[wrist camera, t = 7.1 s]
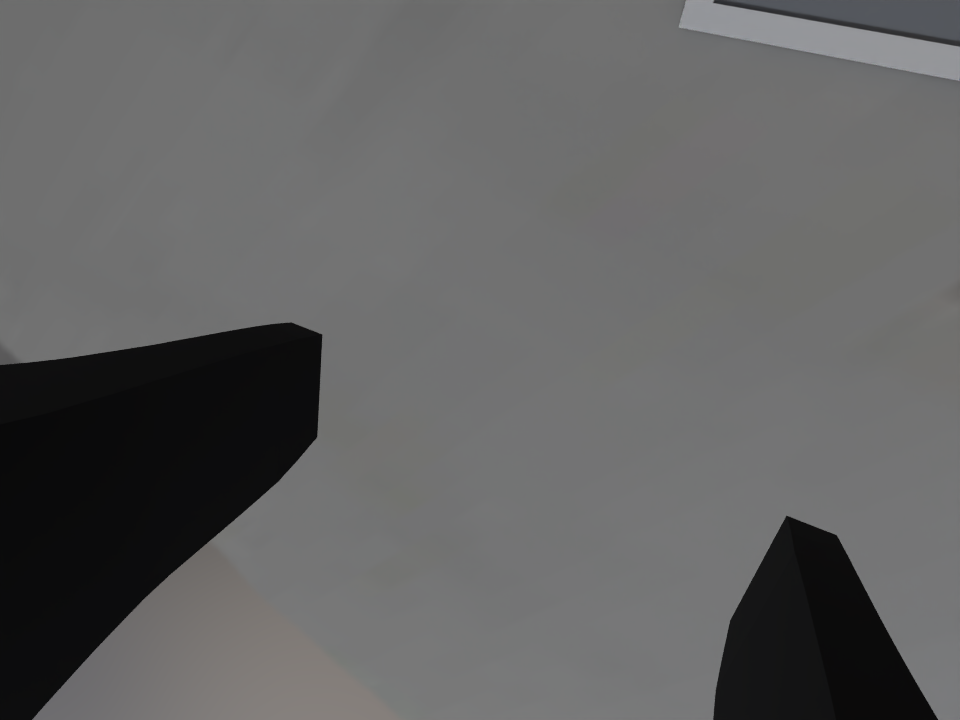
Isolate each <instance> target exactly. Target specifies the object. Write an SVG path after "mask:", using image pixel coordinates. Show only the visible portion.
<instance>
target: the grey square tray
mask: <svg viewBox="0 0 960 720" xmlns="http://www.w3.org/2000/svg"><path fill="white" fill-rule="evenodd" d="M679 28H685V29H690V30H695V31H700V32H706V33H711V34H716V35H721V36H727V37H732V38H737V39H742V40H748V41H753V42H758V43H763V44H769V45H774V46H779V47H784V48H789V49H795V50H800V51H805V52H810V53H816V54H821V55H826V56H831V57H837V58H842V59H847V60H852V61H858V62H863V63H868V64H873V65H879V66H884V67H889V68H894V69H900V70H905V71H910V72H915V73H921V74H926V75H931V76H936V77H942V78H947V79H952V80H957V81H960V0H686V3H685V6H684V10H683V13H682V17H681V21H680V24H679Z"/></svg>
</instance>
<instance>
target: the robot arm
mask: <svg viewBox="0 0 960 720" xmlns="http://www.w3.org/2000/svg"><path fill="white" fill-rule="evenodd" d="M321 350H322V334H319V333H317V332H314V331H312V330H309V329H306V328H304V327H301V326H299V325H296V324H294V323H280V324H270V325H263V326H256V327H250V328H244V329H238V330H232V331H227V332H221V333H216V334H210V335H205V336H199V337H194V338H188V339H183V340H178V341H172V342H167V343H161V344H156V345H150V346H144V347H137V348H131V349H124V350H118V351H111V352H105V353H98V354H92V355H86V356H79V357H73V358H65V359H57V360H48V361H39V362H30V363H19V364H9V365H8V364H7V365H0V720H32V719H33V718H34V717H35V716H36V715H37V713H38V712H39V711H40V710H41V709H42V708H43V706H44V705H45V704H46V703H47V702H48V701H49V700H50V699H51V698H52V697H53V695H54V694H55V693H56V692H57V691H58V690H59V689H60V688H61V687H62V685H63V684H64V683H65V682H66V681H67V680H68V679H69V678H70V677H71V676H72V674H73V673H74V672H75V671H76V670H77V669H78V668H79V667H80V666H81V664H82V663H83V662H84V661H85V660H86V659H87V658H88V657H89V656H90V655H91V654H92V652H93V651H94V650H95V649H96V648H97V647H98V646H99V645H100V644H101V643H102V642H103V641H104V640H105V639H106V638H107V637H108V635H110V633H111V632H112V631H113V630H114V629H115V628H116V627H117V626H118V625H119V624H120V623H121V622H122V621H123V620H124V619H125V618H126V617H127V616H128V615H129V614H130V613H131V612H132V611H133V609H135V608H136V607H137V605H138V604H139V603H140V602H141V601H142V600H143V599H144V598H145V597H146V596H148V595H149V594H150V593H151V592H152V591H153V590H154V589H155V588H156V587H157V586H158V585H159V584H160V583H161V582H163V581H164V580H165V579H166V578H167V577H168V576H169V575H170V574H171V573H173V572H174V571H175V570H176V569H177V568H178V567H180V566H181V565H182V564H183V563H184V562H185V561H186V560H188V559H189V558H190V557H191V556H193V555H194V554H195V553H196V552H197V551H198V550H200V549H201V548H202V547H203V546H204V545H205V544H207V543H208V542H209V541H210V540H211V539H212V538H214V537H215V536H216V535H217V534H218V533H220V532H221V531H222V530H223V529H224V528H225V527H227V526H228V525H229V524H230V523H231V522H232V521H234V520H235V519H236V518H237V517H238V516H239V515H241V514H242V513H243V512H244V511H245V510H246V509H248V508H249V507H250V506H251V505H252V504H253V503H254V502H256V501H257V500H258V499H259V498H260V497H261V496H262V495H264V494H265V493H266V492H267V491H268V490H269V489H270V488H271V487H273V486H274V485H275V484H276V483H277V482H278V481H279V480H280V479H281V478H282V477H283V476H284V475H285V473H286V472H287V471H288V470H289V469H290V468H291V467H292V466H293V465H294V464H295V463H296V461H297V460H298V459H299V458H300V457H301V456H302V454H303V453H304V452H305V451H306V450H307V448H308V447H309V446H310V445H311V444H312V442H313V441H314V440H315V439H316V438H317V430H318V410H319V390H320V370H321ZM713 720H938V719H937V717H936V715H935V714H934V712H933V710H932V709H931V707H930V705H929V704H928V702H927V700H926V699H925V697H924V695H923V694H922V692H921V690H920V688H919V687H918V685H917V683H916V682H915V680H914V678H913V676H912V675H911V673H910V671H909V669H908V668H907V666H906V664H905V662H904V661H903V659H902V657H901V655H900V653H899V652H898V650H897V648H896V646H895V644H894V643H893V641H892V639H891V637H890V635H889V633H888V632H887V630H886V628H885V626H884V624H883V622H882V621H881V619H880V617H879V615H878V613H877V611H876V609H875V607H874V605H873V604H872V602H871V600H870V598H869V596H868V594H867V592H866V590H865V588H864V586H863V584H862V583H861V581H860V579H859V577H858V575H857V573H856V571H855V569H854V567H853V565H852V563H851V561H850V559H849V557H848V555H847V554H846V552H845V550H844V548H843V546H842V544H841V542H840V540H839V539H838V537H837V535H835V534H832V533H829V532H827V531H824V530H822V529H819V528H817V527H814V526H812V525H809V524H806V523H804V522H801V521H799V520H796V519H794V518H791V517H788V516H786V518H785V520H784V522H783V523H782V525H781V527H780V529H779V531H778V533H777V535H776V536H775V538H774V540H773V542H772V544H771V546H770V548H769V549H768V551H767V553H766V555H765V557H764V559H763V561H762V563H761V564H760V566H759V568H758V570H757V572H756V574H755V576H754V577H753V579H752V581H751V583H750V585H749V587H748V589H747V590H746V592H745V594H744V596H743V598H742V600H741V602H740V603H739V605H738V607H737V609H736V611H735V613H734V615H733V616H732V618H731V620H730V624H729V629H728V633H727V638H726V643H725V647H724V652H723V657H722V662H721V667H720V672H719V677H718V682H717V687H716V695H715V706H714V718H713Z"/></svg>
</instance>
